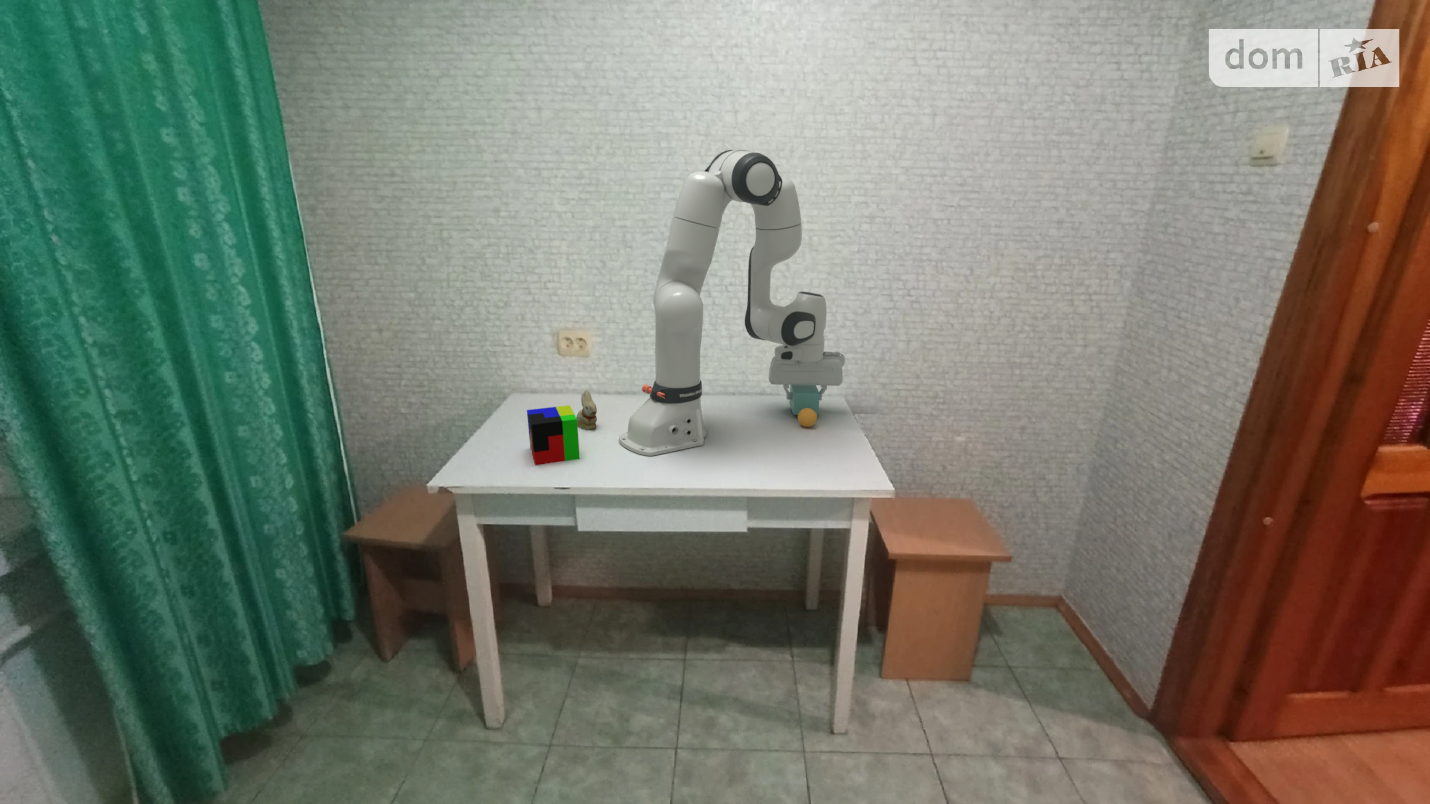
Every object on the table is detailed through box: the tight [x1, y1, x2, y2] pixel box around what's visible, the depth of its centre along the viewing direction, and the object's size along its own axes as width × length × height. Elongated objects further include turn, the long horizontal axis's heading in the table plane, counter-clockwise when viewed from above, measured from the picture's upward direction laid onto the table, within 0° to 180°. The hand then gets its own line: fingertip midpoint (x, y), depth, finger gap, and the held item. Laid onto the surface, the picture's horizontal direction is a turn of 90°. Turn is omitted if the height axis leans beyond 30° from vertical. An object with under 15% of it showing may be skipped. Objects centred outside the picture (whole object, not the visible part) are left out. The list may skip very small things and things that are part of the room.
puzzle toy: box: [526, 404, 581, 466], centre depth 148 cm, size 10×10×10 cm
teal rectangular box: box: [788, 385, 820, 416], centre depth 176 cm, size 10×7×6 cm, turn 0°
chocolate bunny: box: [576, 389, 598, 431], centre depth 165 cm, size 6×8×10 cm
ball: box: [797, 408, 818, 428], centre depth 167 cm, size 5×5×5 cm
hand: (803, 399), depth 176 cm, fingers closed on teal rectangular box, 7 cm apart
